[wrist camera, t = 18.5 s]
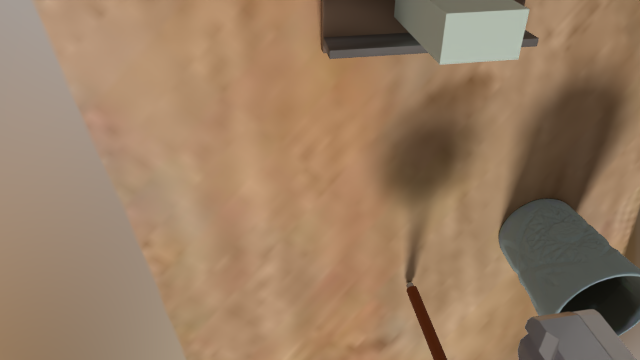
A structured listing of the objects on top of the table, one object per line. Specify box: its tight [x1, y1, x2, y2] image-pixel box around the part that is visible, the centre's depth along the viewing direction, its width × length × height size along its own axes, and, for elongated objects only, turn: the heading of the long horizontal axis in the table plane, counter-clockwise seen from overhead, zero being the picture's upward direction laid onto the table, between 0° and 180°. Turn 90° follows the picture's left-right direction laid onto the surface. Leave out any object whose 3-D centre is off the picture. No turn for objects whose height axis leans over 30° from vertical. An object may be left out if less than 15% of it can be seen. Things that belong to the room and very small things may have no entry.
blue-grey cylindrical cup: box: [499, 199, 640, 336], centre depth 50 cm, size 10×10×12 cm
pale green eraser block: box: [394, 0, 529, 64], centre depth 33 cm, size 3×5×10 cm, turn 90°
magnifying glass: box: [407, 282, 447, 360], centre depth 48 cm, size 9×2×20 cm, turn 99°
